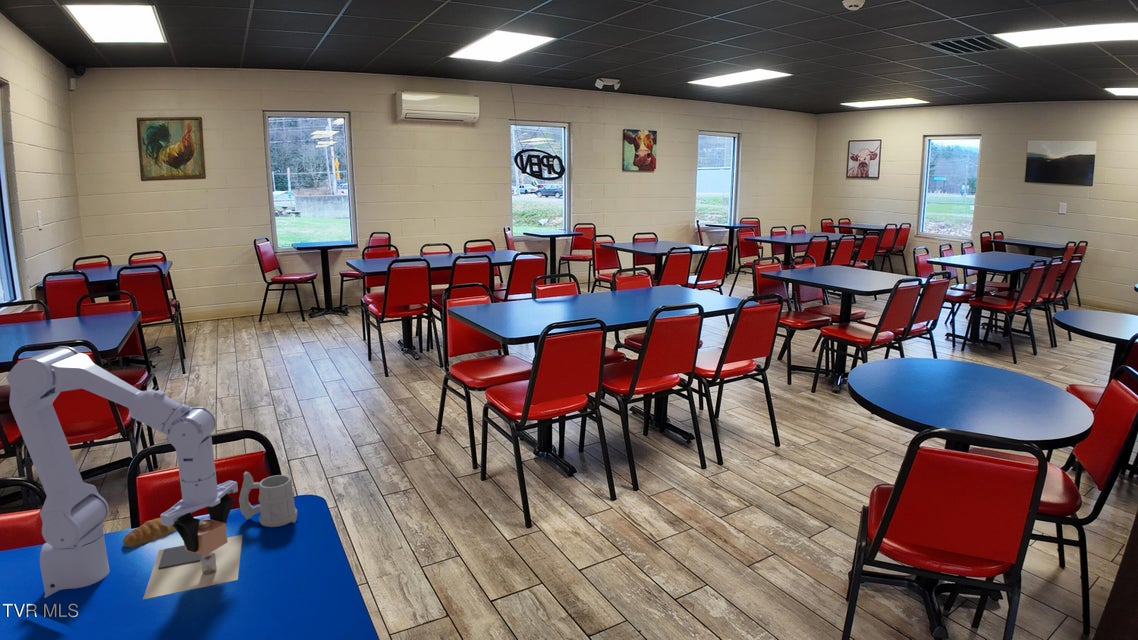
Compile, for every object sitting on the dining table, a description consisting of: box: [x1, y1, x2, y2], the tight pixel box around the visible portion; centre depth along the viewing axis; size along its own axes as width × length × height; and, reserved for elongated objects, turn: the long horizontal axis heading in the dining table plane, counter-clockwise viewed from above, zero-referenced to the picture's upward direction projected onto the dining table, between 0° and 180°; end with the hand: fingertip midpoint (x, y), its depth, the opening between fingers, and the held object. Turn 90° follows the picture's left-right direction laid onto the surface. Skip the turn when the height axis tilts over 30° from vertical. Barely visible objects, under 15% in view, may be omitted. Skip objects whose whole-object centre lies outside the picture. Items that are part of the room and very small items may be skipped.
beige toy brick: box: [183, 517, 228, 556], centre depth 123 cm, size 5×5×5 cm
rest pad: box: [158, 545, 202, 569], centre depth 130 cm, size 7×7×1 cm
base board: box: [142, 534, 243, 600], centre depth 127 cm, size 15×17×1 cm
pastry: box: [122, 517, 177, 549], centre depth 137 cm, size 9×7×4 cm
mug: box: [238, 471, 298, 528], centre depth 143 cm, size 8×12×12 cm, turn 94°
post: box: [201, 552, 217, 575], centre depth 124 cm, size 2×2×3 cm
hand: (206, 542), depth 123 cm, fingers closed on beige toy brick, 5 cm apart
